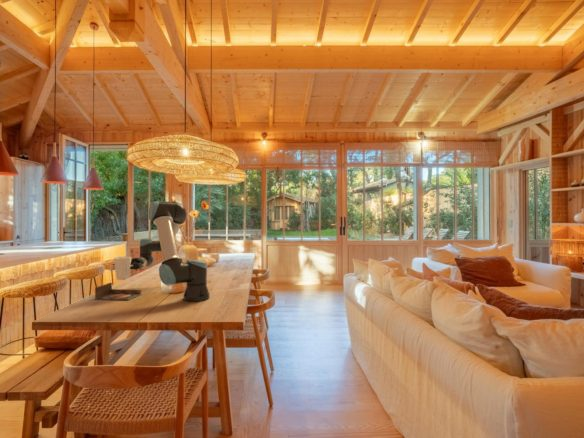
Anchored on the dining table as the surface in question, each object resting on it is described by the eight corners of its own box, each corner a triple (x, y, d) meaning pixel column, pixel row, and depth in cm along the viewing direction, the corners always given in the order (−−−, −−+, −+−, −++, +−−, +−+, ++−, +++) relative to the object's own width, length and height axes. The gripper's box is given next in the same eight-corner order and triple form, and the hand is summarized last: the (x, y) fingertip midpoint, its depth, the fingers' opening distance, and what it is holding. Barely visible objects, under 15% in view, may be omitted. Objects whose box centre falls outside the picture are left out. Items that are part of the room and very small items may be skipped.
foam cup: (126, 276, 208) (126, 256, 208) (134, 278, 202) (134, 257, 202) (110, 278, 200) (111, 257, 200) (118, 280, 195) (118, 259, 194)
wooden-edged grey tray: (141, 294, 206) (141, 283, 206) (128, 300, 192) (128, 288, 191) (109, 293, 207) (109, 282, 207) (95, 299, 193) (95, 287, 192)
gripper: (154, 269, 218) (136, 275, 196) (122, 268, 220) (100, 274, 197) (154, 257, 218) (136, 262, 196) (122, 257, 220) (100, 261, 197)
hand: (118, 268), depth 197 cm, fingers closed on foam cup, 9 cm apart
